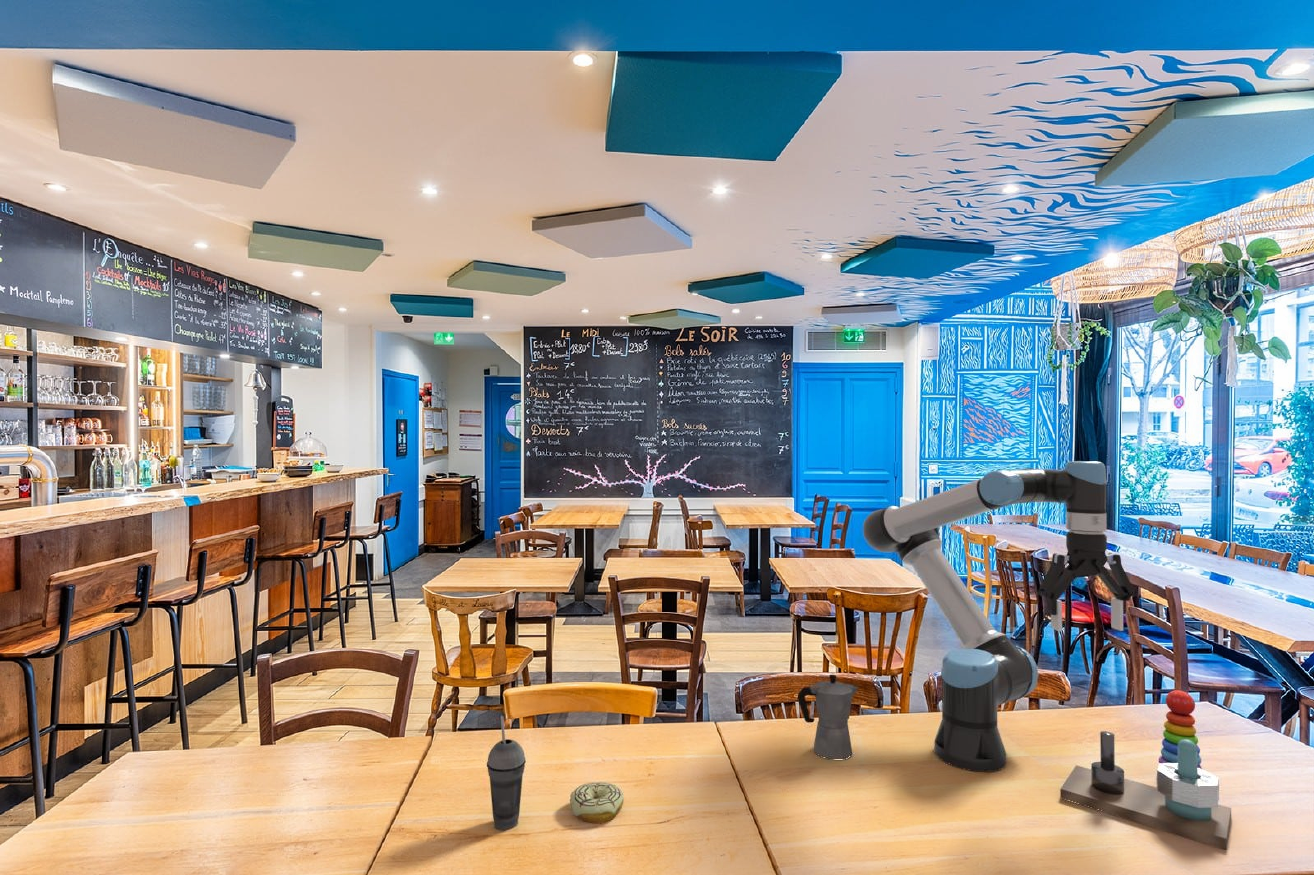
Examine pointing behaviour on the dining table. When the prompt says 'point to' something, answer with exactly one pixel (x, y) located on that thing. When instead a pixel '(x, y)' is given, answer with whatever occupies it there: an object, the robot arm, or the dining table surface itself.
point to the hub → (1189, 770)
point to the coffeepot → (830, 717)
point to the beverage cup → (506, 781)
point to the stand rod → (1107, 768)
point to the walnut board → (1147, 808)
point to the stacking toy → (1178, 726)
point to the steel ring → (1188, 786)
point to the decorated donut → (596, 802)
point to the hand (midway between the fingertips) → (1086, 629)
